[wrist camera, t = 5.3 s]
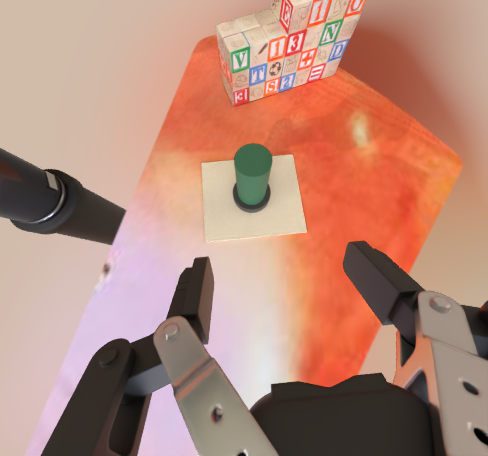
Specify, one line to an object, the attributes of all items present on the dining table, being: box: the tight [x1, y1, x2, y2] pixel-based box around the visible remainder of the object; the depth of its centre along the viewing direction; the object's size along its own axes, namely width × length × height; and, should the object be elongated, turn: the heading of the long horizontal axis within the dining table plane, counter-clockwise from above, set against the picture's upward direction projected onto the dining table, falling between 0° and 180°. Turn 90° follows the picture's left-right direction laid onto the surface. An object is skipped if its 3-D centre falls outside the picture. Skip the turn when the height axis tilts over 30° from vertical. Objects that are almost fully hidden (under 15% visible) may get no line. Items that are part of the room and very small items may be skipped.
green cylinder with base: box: [233, 144, 273, 213], centre depth 26 cm, size 6×6×10 cm
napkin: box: [201, 154, 307, 242], centre depth 31 cm, size 16×14×1 cm
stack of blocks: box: [216, 0, 366, 106], centre depth 31 cm, size 21×6×12 cm, turn 111°
